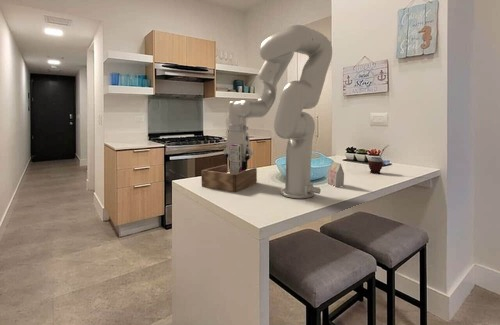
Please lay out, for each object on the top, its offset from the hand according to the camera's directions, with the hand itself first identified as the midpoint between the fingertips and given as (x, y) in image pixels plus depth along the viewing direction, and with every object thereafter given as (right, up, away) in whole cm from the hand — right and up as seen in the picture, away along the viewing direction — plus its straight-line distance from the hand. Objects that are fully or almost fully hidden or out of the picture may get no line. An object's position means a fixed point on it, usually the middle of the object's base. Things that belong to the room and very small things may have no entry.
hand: (237, 168), depth 138 cm
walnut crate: (-4, -7, -4) cm, 9 cm away
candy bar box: (0, -5, +1) cm, 5 cm away
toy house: (+43, -7, -4) cm, 44 cm away
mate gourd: (+71, -3, +23) cm, 75 cm away
